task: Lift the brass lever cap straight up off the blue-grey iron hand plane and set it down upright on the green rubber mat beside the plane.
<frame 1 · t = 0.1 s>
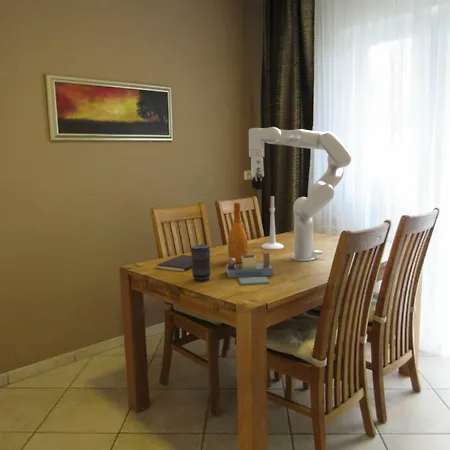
hand: (256, 188, 221), 37 cm above the table, tool pointing down, fingers open, 9 cm apart
rubber mat: (253, 281, 190), on the table
candlestick: (272, 247, 257), on the table
lever cap: (249, 266, 202), point 3 cm above the table, touching hand plane
camera lens: (201, 280, 194), on the table
hardcover book: (183, 265, 222), on the table
hand plane: (249, 273, 202), on the table
wine bottle: (238, 261, 226), on the table
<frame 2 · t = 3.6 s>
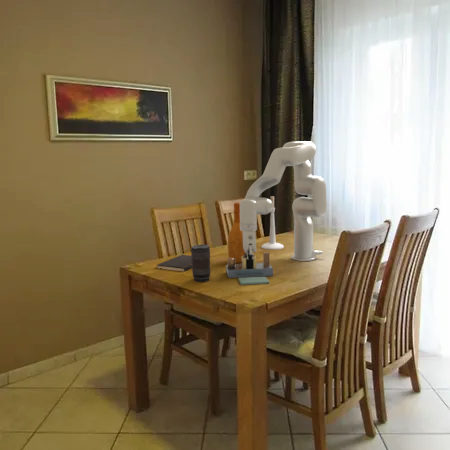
hand: (248, 265, 202), 4 cm above the table, tool pointing down, fingers closed on lever cap, 5 cm apart
lever cap: (249, 266, 202), point 4 cm above the table, touching gripper, hand plane
everything else where it was.
when the fingers open (3 cm above the table, at t = 9.9 s): lever cap drops 2 cm, resting on rubber mat.
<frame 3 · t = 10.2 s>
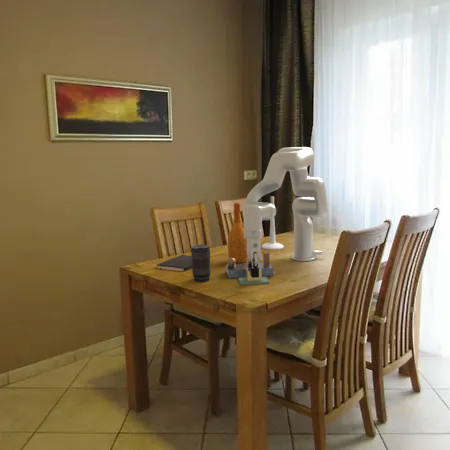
hand: (253, 274, 190), 3 cm above the table, tool pointing down, fingers open, 7 cm apart
lever cap: (253, 279, 190), point 1 cm above the table, touching rubber mat
everything else where it was.
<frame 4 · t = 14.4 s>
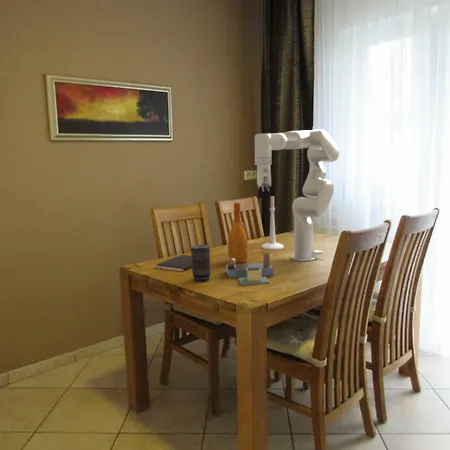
hand: (263, 199, 204), 33 cm above the table, tool pointing down, fingers open, 9 cm apart
nothing on the table moved.
at the end: lever cap inside the target area on the rubber mat (0.1 cm from its centre), point 0.8 cm above the rubber mat's base; lever cap tilted 0°; the gripper is holding nothing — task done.
